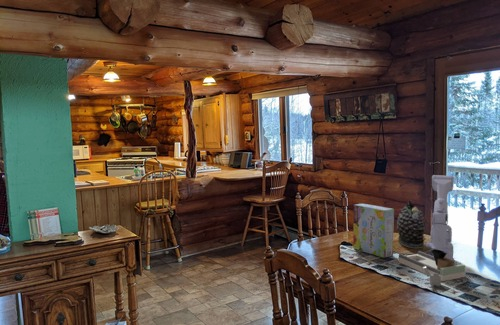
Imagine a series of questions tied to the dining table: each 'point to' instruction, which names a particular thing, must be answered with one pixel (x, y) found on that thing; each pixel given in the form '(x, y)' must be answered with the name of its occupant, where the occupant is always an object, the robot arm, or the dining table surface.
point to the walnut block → (445, 263)
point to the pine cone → (411, 227)
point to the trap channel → (431, 266)
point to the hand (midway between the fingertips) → (438, 265)
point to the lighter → (433, 277)
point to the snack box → (373, 229)
